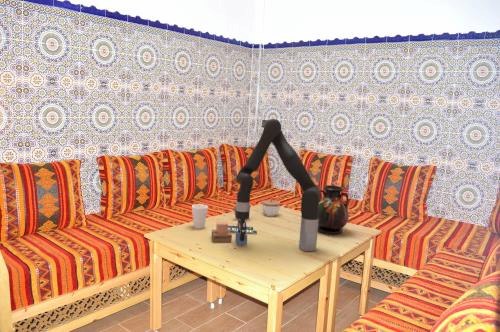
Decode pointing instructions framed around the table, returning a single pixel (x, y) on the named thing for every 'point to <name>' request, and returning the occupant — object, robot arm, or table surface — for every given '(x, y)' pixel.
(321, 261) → the table surface
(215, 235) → the plinth
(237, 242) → the blue block
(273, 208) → the lidded bowl
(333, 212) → the amphora vase
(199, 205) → the foam cup
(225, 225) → the terracotta block
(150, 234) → the table surface
